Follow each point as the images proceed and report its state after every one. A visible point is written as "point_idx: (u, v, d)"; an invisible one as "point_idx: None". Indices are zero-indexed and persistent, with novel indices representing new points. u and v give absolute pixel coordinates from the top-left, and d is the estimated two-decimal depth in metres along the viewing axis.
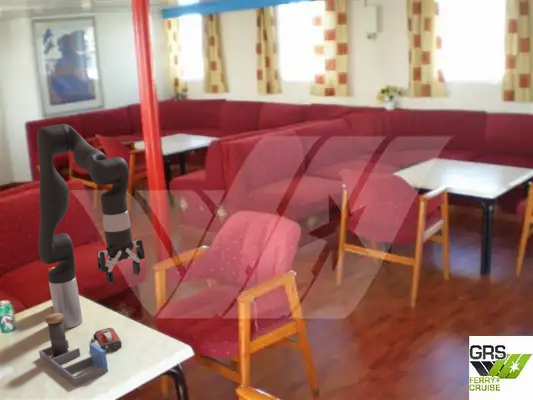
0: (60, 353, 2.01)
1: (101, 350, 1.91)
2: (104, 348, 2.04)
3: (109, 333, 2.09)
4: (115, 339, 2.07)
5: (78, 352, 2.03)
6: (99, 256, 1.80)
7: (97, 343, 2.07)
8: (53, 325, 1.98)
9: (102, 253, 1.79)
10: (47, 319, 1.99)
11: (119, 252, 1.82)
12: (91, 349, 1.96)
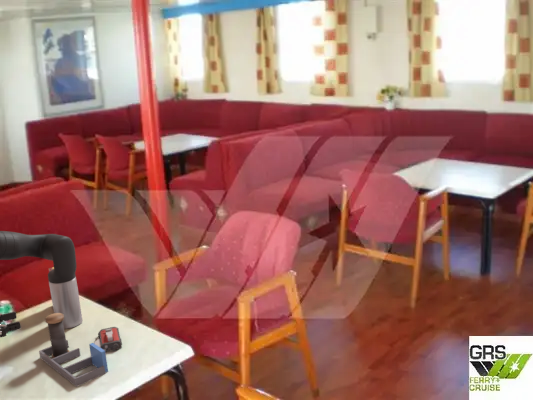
0: (60, 353, 2.01)
1: (101, 350, 1.91)
2: (104, 347, 2.05)
3: (111, 332, 2.09)
4: (115, 339, 2.07)
5: (78, 352, 2.03)
6: None
7: (98, 342, 2.08)
8: (53, 325, 1.98)
9: None
10: (47, 319, 1.99)
11: None
12: (91, 349, 1.96)
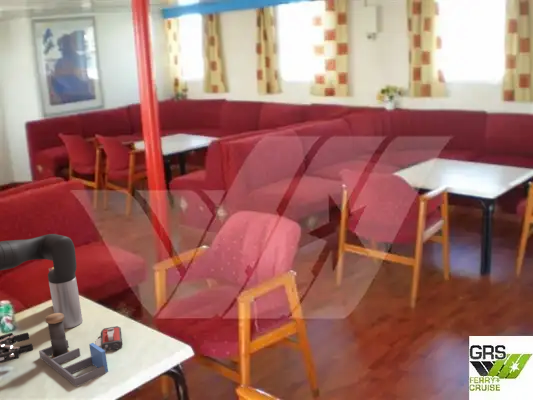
0: (60, 353, 2.01)
1: (101, 350, 1.91)
2: (104, 347, 2.05)
3: (112, 332, 2.09)
4: (116, 339, 2.07)
5: (78, 352, 2.03)
6: None
7: (99, 341, 2.08)
8: (53, 325, 1.98)
9: None
10: (47, 319, 1.99)
11: None
12: (91, 349, 1.96)
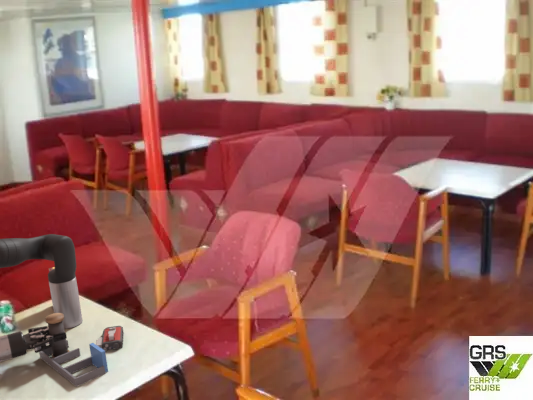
0: (60, 353, 2.01)
1: (101, 350, 1.91)
2: (104, 346, 2.05)
3: (113, 332, 2.09)
4: (117, 338, 2.07)
5: (78, 352, 2.03)
6: None
7: (100, 340, 2.09)
8: (53, 325, 1.98)
9: None
10: (47, 319, 1.99)
11: None
12: (91, 349, 1.96)
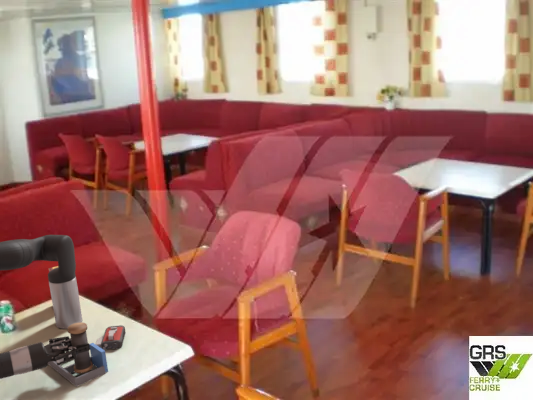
0: (83, 365, 1.89)
1: (101, 350, 1.91)
2: (103, 346, 2.06)
3: (113, 331, 2.10)
4: (116, 338, 2.07)
5: None
6: None
7: (101, 339, 2.09)
8: (76, 336, 1.86)
9: None
10: (70, 329, 1.86)
11: None
12: (91, 349, 1.96)
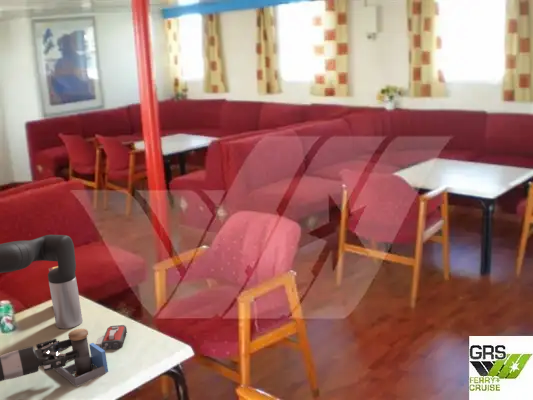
0: (84, 371, 1.89)
1: (101, 350, 1.91)
2: (104, 345, 2.06)
3: (114, 331, 2.10)
4: (117, 338, 2.07)
5: None
6: None
7: (101, 339, 2.10)
8: (77, 342, 1.87)
9: None
10: (70, 335, 1.87)
11: None
12: (91, 349, 1.96)
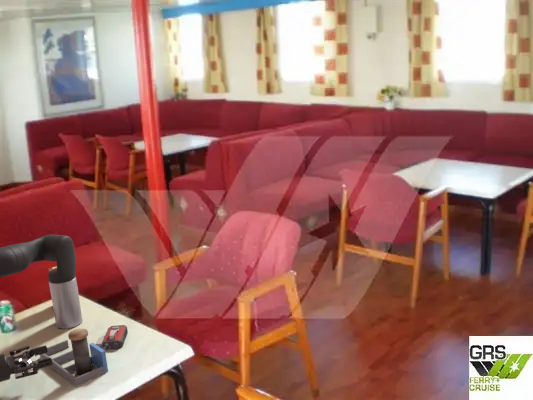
0: (84, 371, 1.89)
1: (101, 350, 1.91)
2: (104, 345, 2.06)
3: (115, 331, 2.10)
4: (117, 338, 2.08)
5: None
6: None
7: (102, 338, 2.10)
8: (77, 342, 1.87)
9: None
10: (70, 335, 1.87)
11: None
12: (91, 349, 1.96)
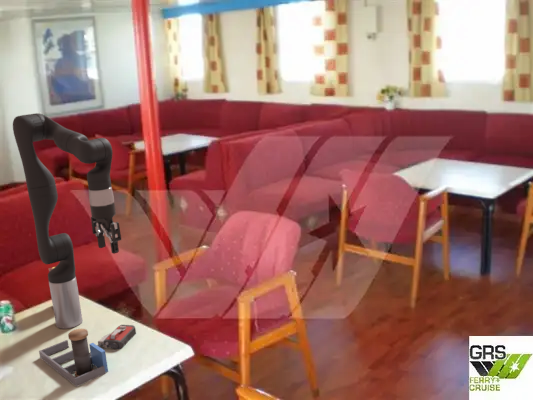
0: (84, 371, 1.89)
1: (101, 350, 1.91)
2: (105, 343, 2.07)
3: (118, 331, 2.10)
4: (118, 338, 2.07)
5: None
6: None
7: (106, 336, 2.11)
8: (76, 342, 1.87)
9: (91, 217, 2.05)
10: (70, 335, 1.87)
11: (97, 224, 2.01)
12: (91, 349, 1.96)
